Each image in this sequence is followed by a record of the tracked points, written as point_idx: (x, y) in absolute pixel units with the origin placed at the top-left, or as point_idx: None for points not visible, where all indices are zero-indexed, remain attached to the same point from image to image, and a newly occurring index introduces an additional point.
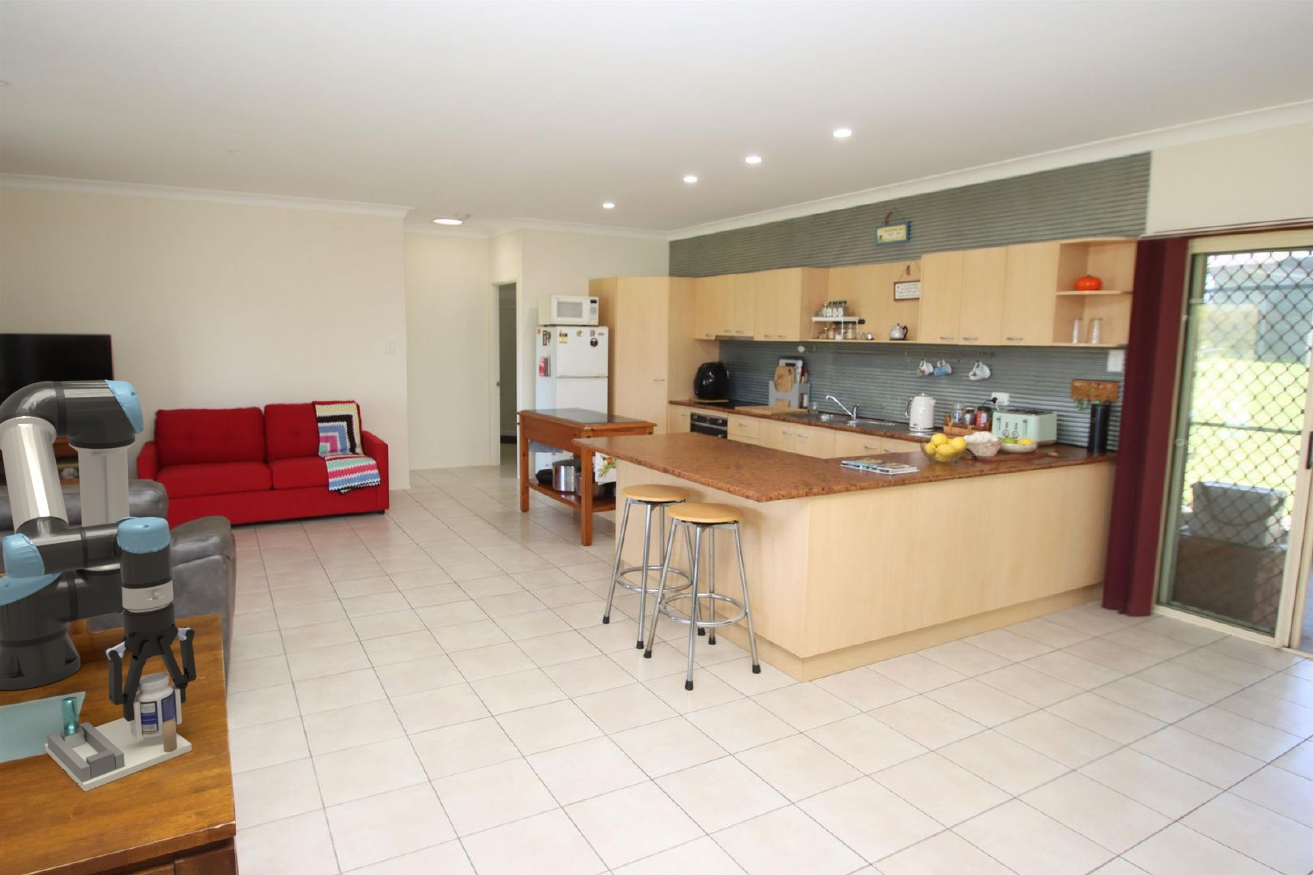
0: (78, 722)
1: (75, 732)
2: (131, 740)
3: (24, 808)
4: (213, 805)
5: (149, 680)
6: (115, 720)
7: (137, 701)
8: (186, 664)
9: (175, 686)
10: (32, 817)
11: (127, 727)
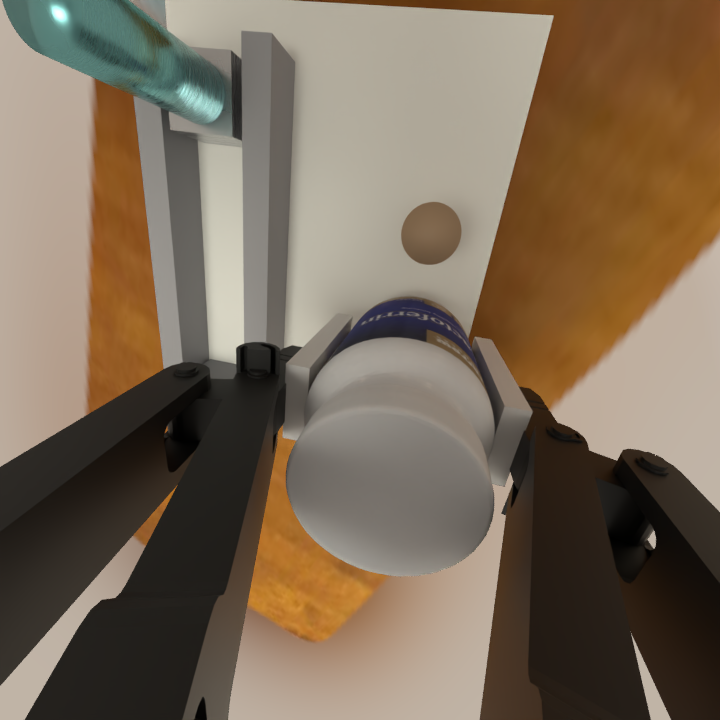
0: (197, 98)
1: (205, 123)
2: (359, 275)
3: (107, 343)
4: (334, 613)
5: (347, 505)
6: (415, 8)
7: (302, 425)
8: (649, 633)
9: (519, 441)
10: (117, 390)
11: (404, 147)
